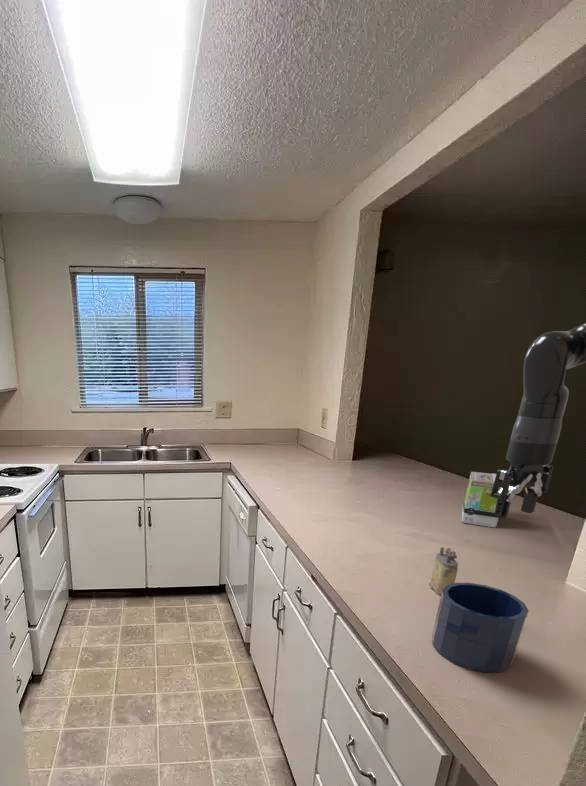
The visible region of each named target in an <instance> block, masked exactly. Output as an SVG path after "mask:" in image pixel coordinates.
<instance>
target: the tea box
mask: <svg viewBox="0 0 586 786" xmlns="http://www.w3.org/2000/svg"><path fill="white" fill-rule="evenodd" d="M496 474H497V473H490V472H480V471H471V472H470V475H469V478H468V482H467V486H466V491H465V495H464V499H463V503H462V508H461V523H463V524H469V525H475V526H483V527H488V528H489V527H490V528H497V526H498V522H499V519H500V518H499V517H496V516H495V515H494V513H495V508H496V504H497V499H496V498H493V497H491V492H492V488H493V485H494V481H495V477H496ZM500 490H501V487H499V489H498V492H499V491H500Z"/></svg>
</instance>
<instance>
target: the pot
mask: <svg viewBox="0 0 586 786" xmlns="http://www.w3.org/2000/svg"><path fill="white" fill-rule="evenodd" d="M529 611H530V610H529V609H528V607H527V605H526V603H525V602H524V601H523V600H521V599H519V598H518V597H517V596H515V595H513V594H511V593H509V592H507V591H505V590H502V589H500V588H496V587H493V586H489V585H487V584H479V583H474V582H455V583H454V584H450V585H446V587H445V588H444V589H443V590H442V593H441V595H440V597H439V603H438V607H437V612H436V616H435V620H434V624H433V625H434V626H433V630H432V635H431V644H432V646H433V648H434V650H435V651H436V652H437V653H438V654H439V655H440V656H442V657H443V658H444V659H446V660H447V661H449V662H451V663H453V664H455V665H457V666H459V667H462V668H464V669H467V670H470V671H473V672H474V671H475V672H479V673H484V674H485V673H486V674H498V673H503V672H505V671H508V670H509V669H510V668H511V667H512V664H513V662H514V660H515V658H516V657H515V656H516V653H517V651H518V647H519V643H520V641H521V637H522V634H523V631H524V628H525V624H526V620H527V618H528V614H529Z"/></svg>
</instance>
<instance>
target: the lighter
mask: <svg viewBox="0 0 586 786" xmlns="http://www.w3.org/2000/svg"><path fill="white" fill-rule="evenodd" d="M435 556H436V557H435V558H434V562H433V568H432V572H431V576H430V582H429V585H430V588H431V590H433V591H434V592H435V593H436V594H438V595H439V596H441V593H442V590H443V589H444V588H445V587H446V585H450V584H454V583H456V579H457V573H458V570H459V568H458V567H459V563H458V561H457V560H455V559H457V558H458V556H457V555H456V551H455V550H452V549H451V548H450V547H447V548H446V550H445V547H443V546H441V547H440V550H439V552H438V553H437V554H436V555H435Z"/></svg>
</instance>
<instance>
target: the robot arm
mask: <svg viewBox="0 0 586 786" xmlns="http://www.w3.org/2000/svg"><path fill="white" fill-rule="evenodd" d="M585 363H586V322H584V323H582V324H580V325H578V326H576V327H574V328H571V329H568V330H551V331H548V332H544V333H542V334H540V335H539V336H538V337H536V338H535V339H534V340H532V342H531V343H530V345H529V347H528V348H527V350H526V353H525V356H524V360H523V369H522V371H523V372H522V386H523V394H522V397H521V401H520V405H519V409H518V413H517V416H516V418H515V419H516V420H515V421H514V424H513V427H512V431H511V435H510V440H509V443H508V447H507V452H506V454H505V455H506V456H505V460H506V461H508V462H509V463H510V465H509V468H508V469H502V468H499V469H497V471H496V473H495V474H496V477H495V481H494V485H493V488H492V492H491V497H493V498H496V499H497V504H496V508H495V513H494V515H495V516H496V517H499V519H506V518H508V515H509V512H510V511H509V510H510V506H511V501H512V499H514V497H515V495H517V494H520V493H521V491H522V490H524V491H525V494H524V496H523V500H522V505H521V508H520V511H521V512H523V513H526V514H533V513H534V512H535V509H536V505H537V502H538V498H539V497H541V496H542V494H543V493H544V494H546V493H547V492H548V491H549V488H550V483H551V480H552V475H553V471H554V465H552V462H553V459H554V456H555V452H556V448H557V446H558V441H559V438H560V435H561V431H562V425H563V417H564V414H565V410H566V408H567V407H566V406H567V403H568V400H569V394H570V392H569V388H568V387H567V386H566V385H565V377H566V371H567V370H570V369H572V368H575V367H578V366H580V365H583V364H585ZM499 487H501V490H500V491H499V492H498V489H499Z"/></svg>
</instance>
